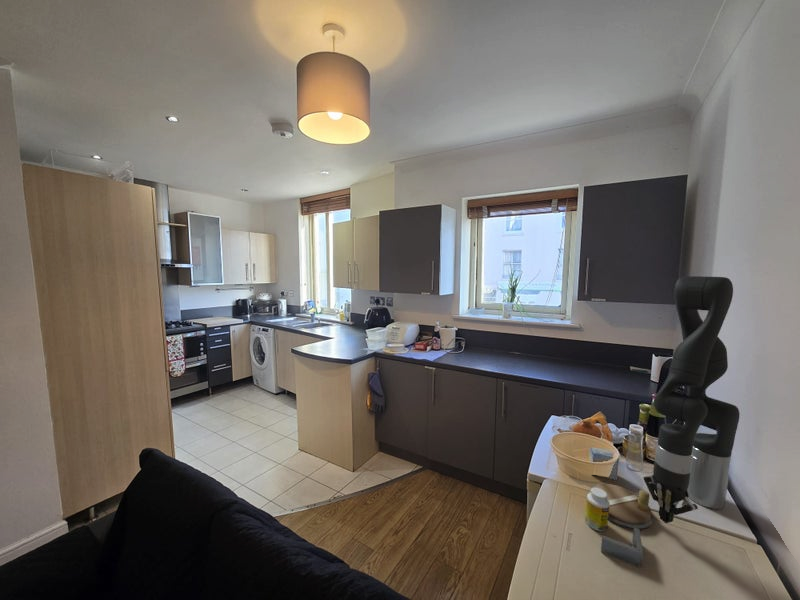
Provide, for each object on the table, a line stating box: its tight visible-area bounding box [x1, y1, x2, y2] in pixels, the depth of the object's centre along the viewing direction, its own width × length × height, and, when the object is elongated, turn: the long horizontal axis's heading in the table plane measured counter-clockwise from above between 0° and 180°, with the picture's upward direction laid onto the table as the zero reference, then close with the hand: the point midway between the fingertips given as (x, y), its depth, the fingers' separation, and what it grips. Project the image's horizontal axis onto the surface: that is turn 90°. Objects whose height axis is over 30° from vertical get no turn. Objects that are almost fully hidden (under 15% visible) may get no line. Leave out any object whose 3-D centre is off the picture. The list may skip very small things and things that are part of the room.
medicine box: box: [588, 446, 620, 481], centre depth 112 cm, size 8×4×9 cm, turn 71°
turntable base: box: [589, 491, 654, 531], centre depth 98 cm, size 16×16×1 cm
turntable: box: [592, 483, 652, 525], centre depth 97 cm, size 15×15×6 cm
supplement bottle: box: [584, 487, 610, 532], centre depth 91 cm, size 6×6×10 cm
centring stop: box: [600, 528, 644, 568], centre depth 82 cm, size 12×6×4 cm, turn 104°
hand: (665, 520), depth 88 cm, fingers closed
